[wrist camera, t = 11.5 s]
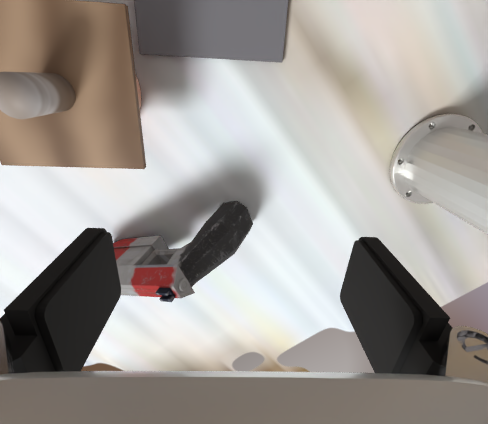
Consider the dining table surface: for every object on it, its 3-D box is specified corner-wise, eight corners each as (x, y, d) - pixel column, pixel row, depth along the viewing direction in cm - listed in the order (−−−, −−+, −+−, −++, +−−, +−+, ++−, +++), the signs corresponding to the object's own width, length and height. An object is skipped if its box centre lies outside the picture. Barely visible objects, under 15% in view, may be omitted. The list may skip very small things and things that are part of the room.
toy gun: (136, 216, 47) (63, 278, 36) (243, 200, 37) (188, 280, 26) (151, 239, 49) (86, 305, 38) (255, 230, 39) (210, 316, 28)
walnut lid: (127, 6, 23) (95, -18, 17) (146, 166, 29) (126, 188, 23) (-51, -7, 22) (-150, -38, 16) (7, 162, 28) (-49, 184, 22)
